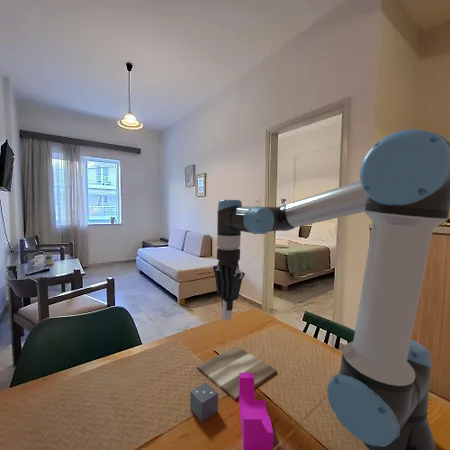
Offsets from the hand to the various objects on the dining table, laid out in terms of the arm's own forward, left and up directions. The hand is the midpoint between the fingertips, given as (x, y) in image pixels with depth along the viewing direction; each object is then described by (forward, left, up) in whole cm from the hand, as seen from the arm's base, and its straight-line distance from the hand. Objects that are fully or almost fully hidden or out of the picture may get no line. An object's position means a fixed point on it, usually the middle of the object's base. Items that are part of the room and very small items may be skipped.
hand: (226, 318), depth 83 cm
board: (-5, 0, -15) cm, 16 cm away
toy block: (-22, +10, -16) cm, 29 cm away
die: (-11, +18, -15) cm, 26 cm away
